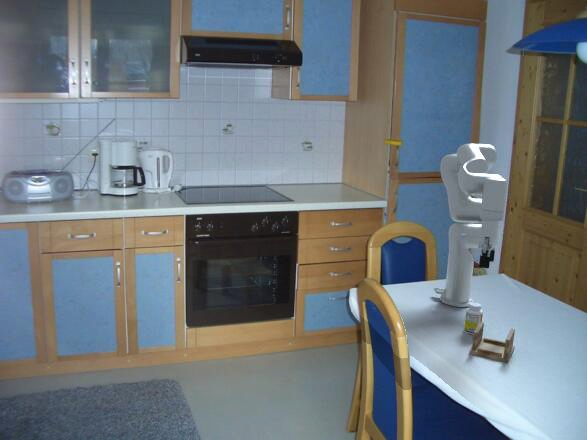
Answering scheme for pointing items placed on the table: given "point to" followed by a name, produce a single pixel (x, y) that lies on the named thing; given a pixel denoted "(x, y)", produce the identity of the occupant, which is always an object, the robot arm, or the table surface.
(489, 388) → the table surface
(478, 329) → the holder
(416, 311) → the table surface
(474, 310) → the supplement bottle
